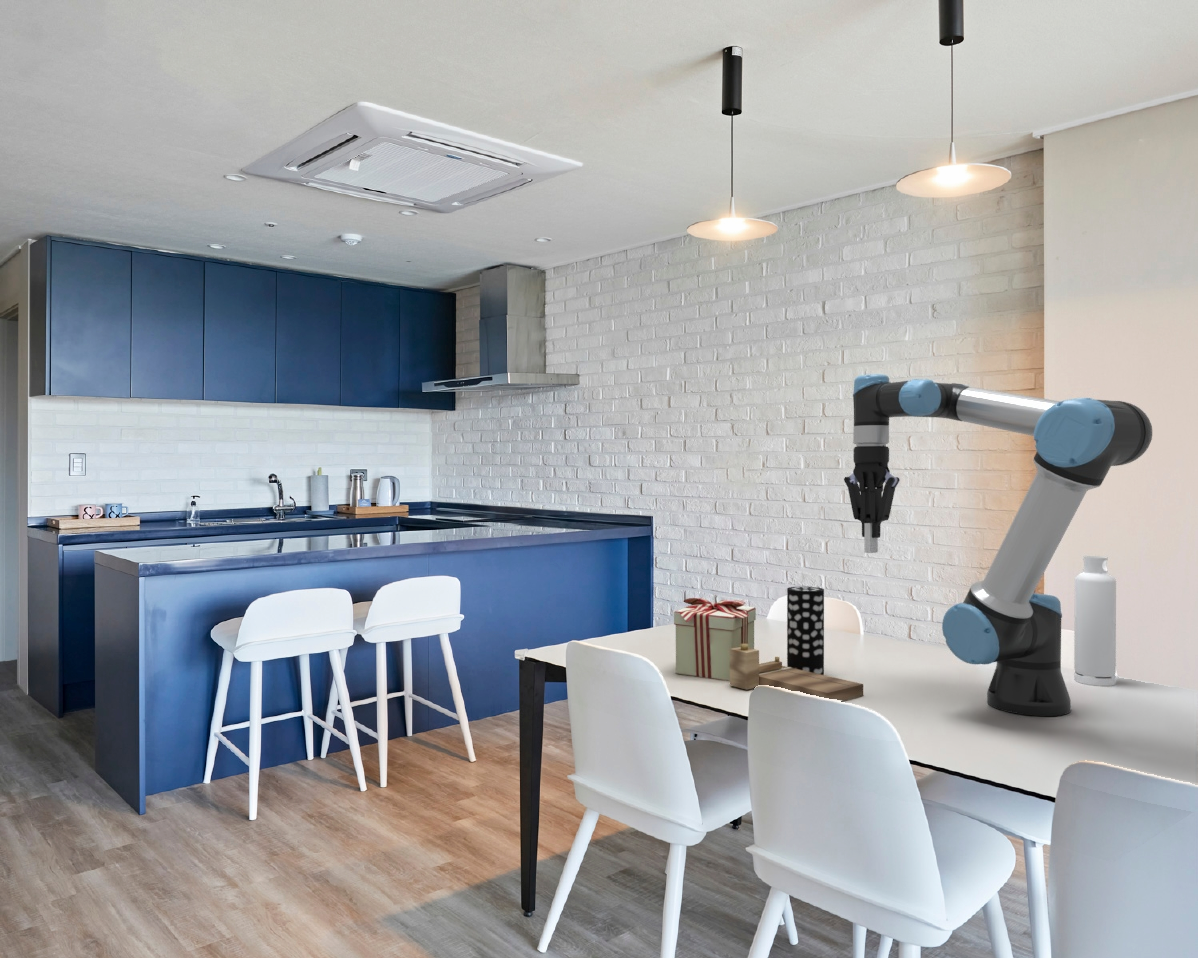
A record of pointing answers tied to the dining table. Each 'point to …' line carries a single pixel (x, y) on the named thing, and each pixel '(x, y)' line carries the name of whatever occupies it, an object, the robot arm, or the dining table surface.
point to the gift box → (711, 636)
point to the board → (811, 683)
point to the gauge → (748, 667)
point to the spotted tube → (805, 629)
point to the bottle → (1095, 624)
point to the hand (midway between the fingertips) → (871, 552)
